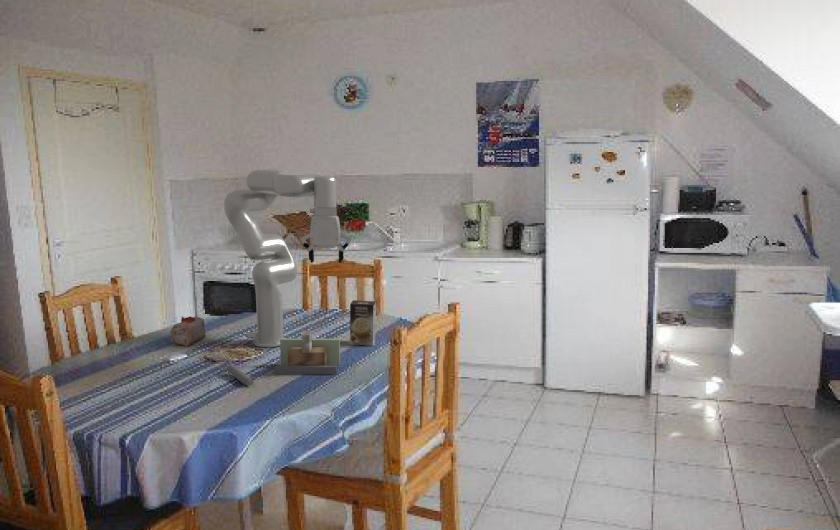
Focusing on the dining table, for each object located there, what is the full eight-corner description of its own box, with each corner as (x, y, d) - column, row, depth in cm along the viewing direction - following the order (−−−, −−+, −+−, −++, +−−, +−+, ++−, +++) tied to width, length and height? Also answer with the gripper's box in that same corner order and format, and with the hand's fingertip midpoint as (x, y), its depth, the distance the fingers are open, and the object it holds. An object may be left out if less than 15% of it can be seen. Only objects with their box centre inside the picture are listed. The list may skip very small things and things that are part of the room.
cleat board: (275, 374, 218) (274, 347, 216) (281, 363, 228) (280, 338, 226) (336, 374, 218) (336, 347, 216) (340, 364, 228) (339, 338, 227)
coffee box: (349, 345, 250) (348, 303, 247) (352, 340, 256) (352, 300, 253) (373, 346, 249) (373, 304, 246) (376, 341, 255) (376, 300, 253)
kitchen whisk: (244, 391, 203) (243, 371, 202) (202, 364, 229) (201, 346, 228) (262, 387, 206) (261, 367, 205) (219, 360, 232) (219, 343, 231)
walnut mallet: (288, 373, 219) (287, 335, 217) (291, 366, 225) (290, 329, 223) (324, 373, 219) (324, 335, 217) (327, 367, 225) (326, 329, 223)
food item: (188, 347, 246) (186, 321, 244) (169, 346, 248) (167, 320, 246) (207, 337, 259) (206, 313, 257) (189, 336, 261) (188, 311, 259)
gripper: (298, 213, 222) (299, 263, 225) (349, 213, 222) (350, 264, 225) (301, 211, 230) (302, 260, 232) (351, 211, 230) (352, 260, 233)
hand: (326, 262), depth 229 cm, fingers open, 9 cm apart
